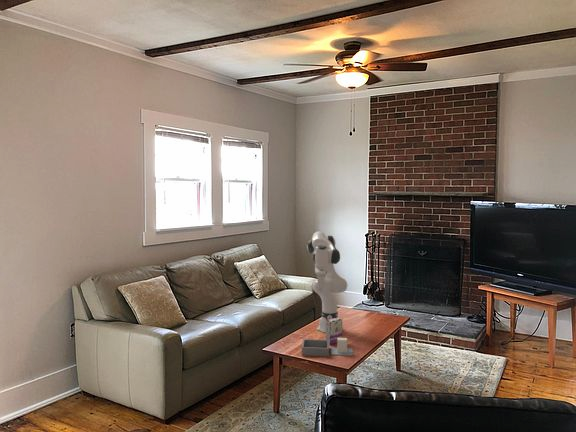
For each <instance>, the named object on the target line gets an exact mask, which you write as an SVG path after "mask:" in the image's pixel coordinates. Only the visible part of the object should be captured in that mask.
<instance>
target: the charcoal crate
mask: <svg viewBox="0 0 576 432" xmlns="http://www.w3.org/2000/svg"><path fill="white" fill-rule="evenodd" d="M329 349H330V345H329V340H326V339H311V338H309V339H308V338H306V339H305V338H303V340H302V344H301V356H309V357H312V356H313V357H330V353H329V351H330V350H329Z"/></svg>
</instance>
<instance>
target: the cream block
mask: <svg viewBox="0 0 576 432" xmlns="http://www.w3.org/2000/svg"><path fill="white" fill-rule="evenodd" d="M336 346H337V347H336V348H337V352H344V353H347V348H348V338H347V337H342V338H337V344H336Z"/></svg>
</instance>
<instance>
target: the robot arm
mask: <svg viewBox="0 0 576 432" xmlns="http://www.w3.org/2000/svg"><path fill="white" fill-rule="evenodd" d="M306 248H307V251H308V253H309V254H312V261H313V263H315V264H314V273H315V275H316V277H317V279H315V280H314V281H313V283H312V289H313V291H314V292H315V293H316V294H317V295H318V297H320V299H321V309H322V310H321V317H320V318H319V319H318V320H319V321H318V322H319V324H318V326H317V328H316V331H320V332H322V333H325V334H326V320H329V319H333V318H337V317H338V318H339V312H338V301H337V299H336V298H334V297H332V296H331V295H330V294H340V293H341V294H342V293H344V292H346V291H347V289H348V282H347V280H346V279H345V278H343V277H341V276H340V275H339V273H337V271H336V269H335V266H334V265H337V264H339V262H340V260H341V253H340V251H339V250H338V248H336V239H335V237H334V236H332V235H325V233H324V232H322V231H320V230H318V231H315V232H314V233H313V234H312V237H311V239H310V240H308V241H307V243H306Z"/></svg>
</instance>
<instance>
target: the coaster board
mask: <svg viewBox="0 0 576 432" xmlns="http://www.w3.org/2000/svg"><path fill="white" fill-rule="evenodd" d="M330 355H331V356H343V357H347V356H348V357H354V348H352V347H351V348H350V347H349V348H348V347H347V353H344V352H337V347H330Z"/></svg>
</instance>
